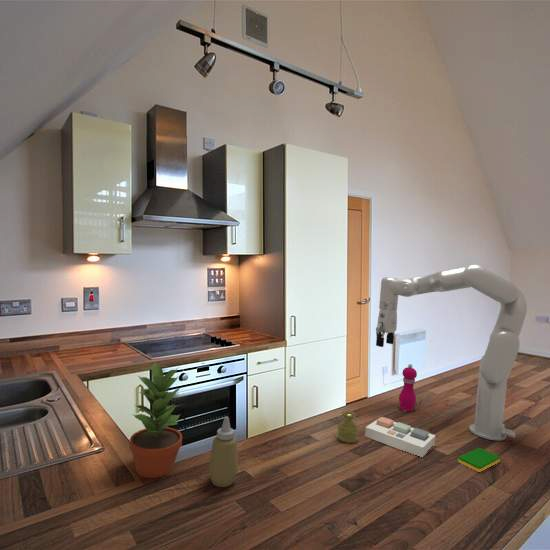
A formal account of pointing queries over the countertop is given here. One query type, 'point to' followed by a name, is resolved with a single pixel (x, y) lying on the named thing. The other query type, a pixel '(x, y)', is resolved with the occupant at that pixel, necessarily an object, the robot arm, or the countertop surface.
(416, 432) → the charcoal key
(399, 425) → the sage key
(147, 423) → the potted plant
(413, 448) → the key pad
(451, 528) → the countertop surface
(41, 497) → the countertop surface
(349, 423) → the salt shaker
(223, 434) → the squeeze bottle
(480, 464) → the dish sponge
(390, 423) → the terracotta key
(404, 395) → the pepper mill
